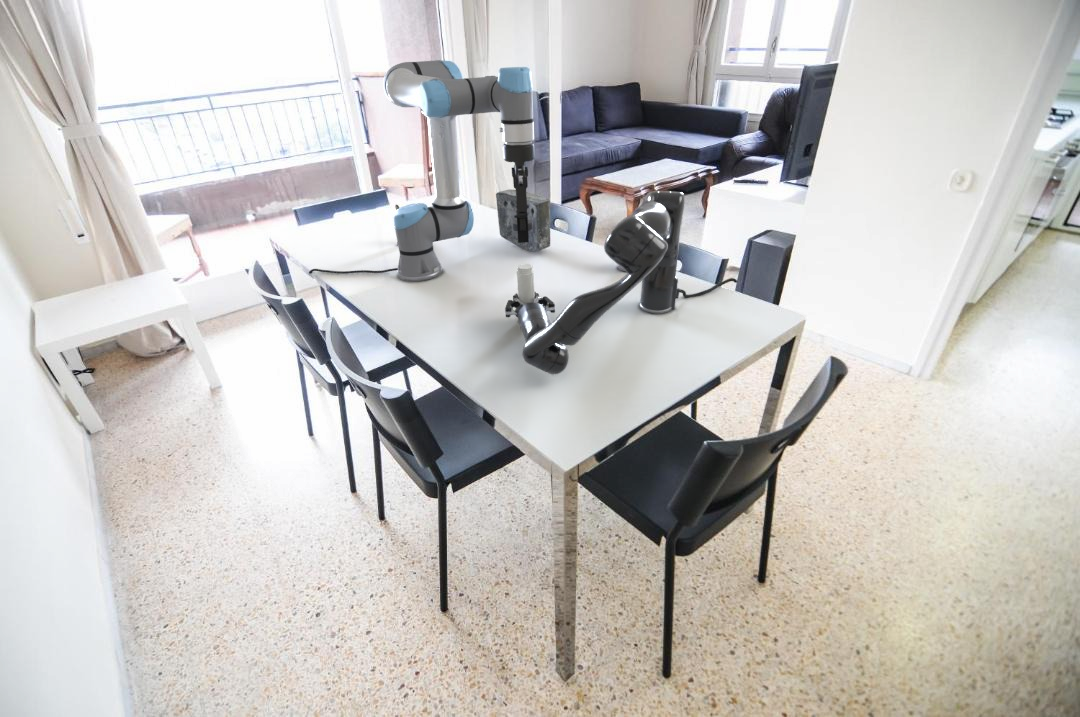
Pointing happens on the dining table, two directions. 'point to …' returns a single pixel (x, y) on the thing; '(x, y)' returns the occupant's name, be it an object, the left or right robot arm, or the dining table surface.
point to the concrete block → (536, 213)
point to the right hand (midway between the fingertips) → (525, 295)
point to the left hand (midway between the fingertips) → (523, 238)
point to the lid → (530, 225)
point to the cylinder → (525, 283)
